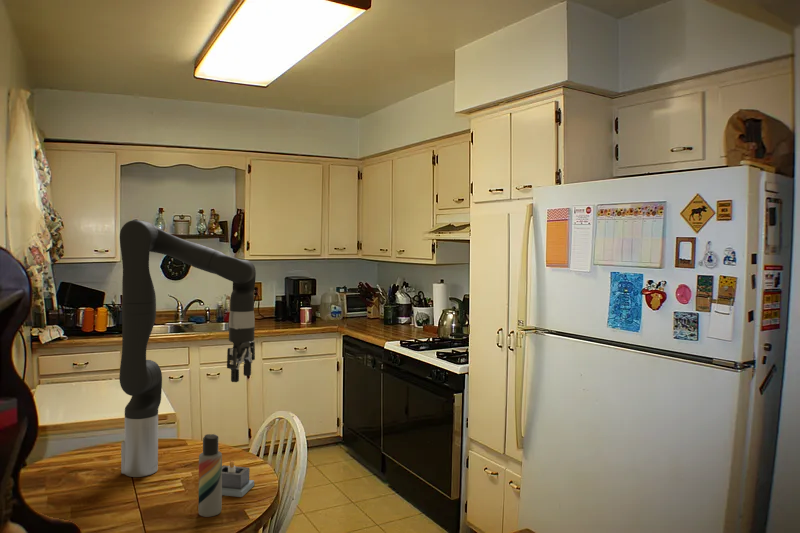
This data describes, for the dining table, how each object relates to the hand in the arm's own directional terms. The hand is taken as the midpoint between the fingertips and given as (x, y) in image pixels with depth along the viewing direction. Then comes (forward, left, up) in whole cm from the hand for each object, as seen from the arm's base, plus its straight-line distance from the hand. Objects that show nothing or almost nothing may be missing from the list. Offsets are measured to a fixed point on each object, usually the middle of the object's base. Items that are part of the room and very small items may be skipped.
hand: (241, 378), depth 180 cm
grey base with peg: (+4, -14, -28) cm, 32 cm away
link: (+4, -14, -27) cm, 30 cm away
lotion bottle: (+5, -28, -28) cm, 40 cm away
